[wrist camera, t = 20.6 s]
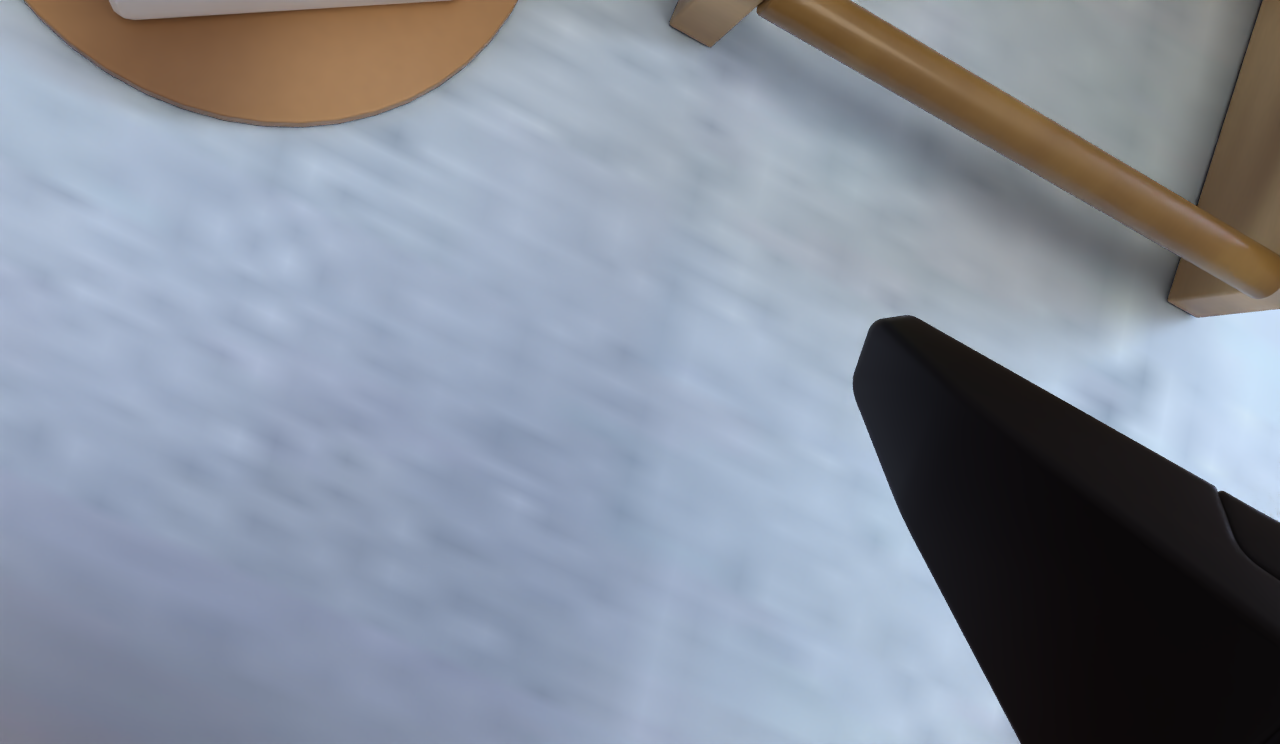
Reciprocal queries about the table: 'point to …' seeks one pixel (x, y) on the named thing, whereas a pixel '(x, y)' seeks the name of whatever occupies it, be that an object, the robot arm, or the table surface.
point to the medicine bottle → (230, 6)
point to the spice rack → (1079, 143)
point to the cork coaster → (283, 55)
